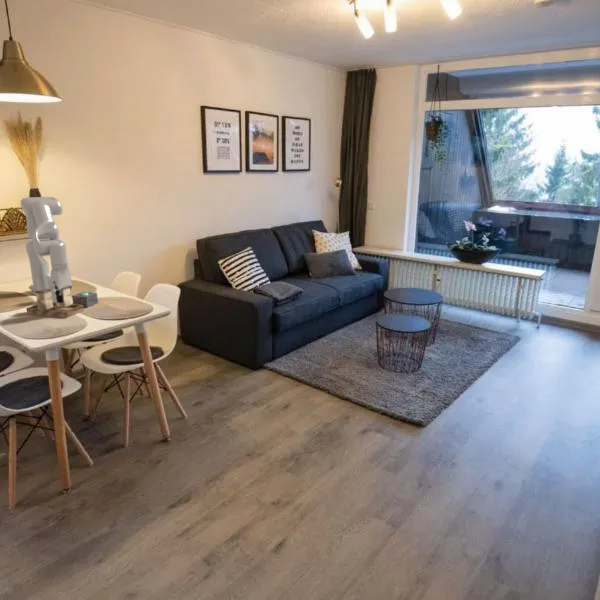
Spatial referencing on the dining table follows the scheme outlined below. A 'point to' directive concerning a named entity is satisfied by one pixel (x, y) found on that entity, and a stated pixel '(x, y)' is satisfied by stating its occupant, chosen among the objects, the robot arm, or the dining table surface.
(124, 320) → the dining table surface
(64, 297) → the block
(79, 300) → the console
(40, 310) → the tray
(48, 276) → the skincare box
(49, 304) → the block
